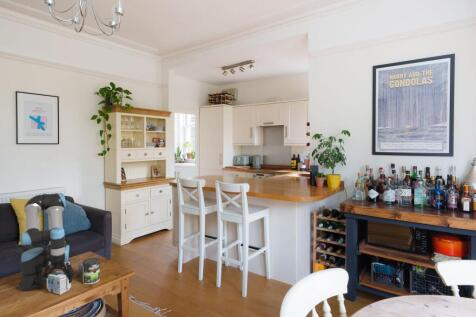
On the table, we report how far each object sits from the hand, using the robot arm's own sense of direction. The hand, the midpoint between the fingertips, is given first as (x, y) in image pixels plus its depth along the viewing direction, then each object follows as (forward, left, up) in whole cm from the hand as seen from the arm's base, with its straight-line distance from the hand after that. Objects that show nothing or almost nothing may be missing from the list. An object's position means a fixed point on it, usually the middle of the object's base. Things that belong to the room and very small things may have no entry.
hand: (59, 287), depth 177 cm
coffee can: (+13, +14, -3) cm, 19 cm away
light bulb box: (0, 0, -2) cm, 2 cm away
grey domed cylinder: (+2, +23, -2) cm, 23 cm away
